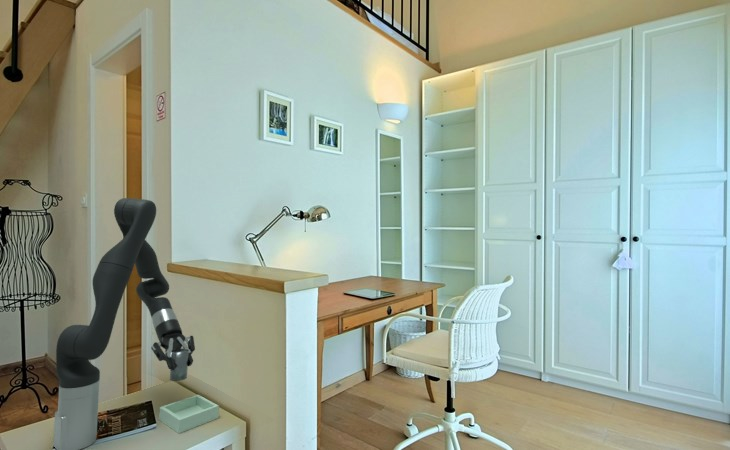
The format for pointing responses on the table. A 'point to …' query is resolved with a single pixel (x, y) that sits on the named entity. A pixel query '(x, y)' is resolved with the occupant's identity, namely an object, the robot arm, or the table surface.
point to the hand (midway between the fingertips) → (182, 366)
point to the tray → (188, 413)
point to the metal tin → (179, 364)
